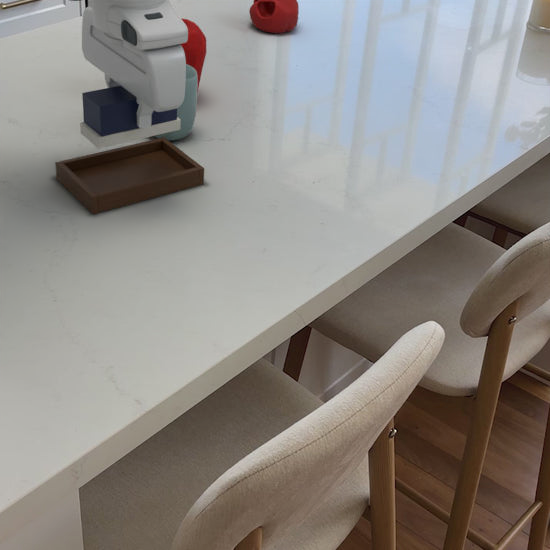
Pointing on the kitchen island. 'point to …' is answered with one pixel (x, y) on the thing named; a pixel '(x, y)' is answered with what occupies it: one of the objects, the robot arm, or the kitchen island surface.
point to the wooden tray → (129, 174)
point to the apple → (195, 48)
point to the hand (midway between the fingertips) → (130, 116)
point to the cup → (186, 107)
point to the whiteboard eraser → (120, 118)
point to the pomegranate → (274, 15)
